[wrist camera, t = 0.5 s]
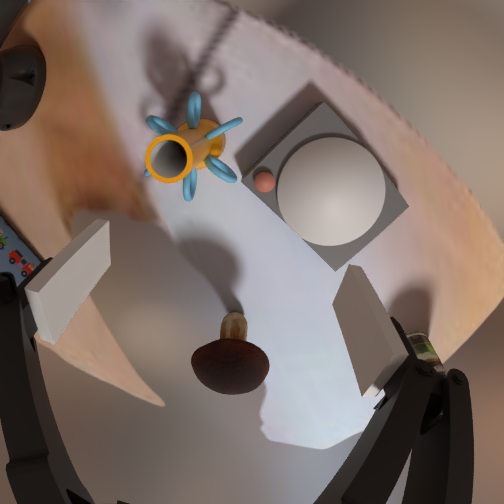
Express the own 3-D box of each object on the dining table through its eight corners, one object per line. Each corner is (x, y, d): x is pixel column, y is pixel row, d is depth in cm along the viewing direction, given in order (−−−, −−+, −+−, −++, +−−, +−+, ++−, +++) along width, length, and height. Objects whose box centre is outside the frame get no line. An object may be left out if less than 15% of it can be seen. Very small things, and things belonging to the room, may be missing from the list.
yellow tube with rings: (166, 95, 31) (112, 88, 18) (247, 97, 32) (240, 85, 18) (163, 184, 37) (114, 225, 24) (238, 189, 37) (227, 235, 24)
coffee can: (417, 324, 48) (446, 376, 35) (434, 344, 51) (459, 391, 38) (377, 354, 52) (397, 409, 39) (398, 371, 55) (417, 420, 42)
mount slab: (242, 176, 36) (240, 183, 33) (319, 102, 32) (325, 101, 28) (330, 261, 42) (336, 274, 39) (399, 199, 37) (411, 208, 34)
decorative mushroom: (255, 283, 44) (253, 356, 31) (276, 332, 49) (280, 404, 35) (191, 300, 46) (170, 371, 32) (218, 346, 50) (208, 414, 37)
